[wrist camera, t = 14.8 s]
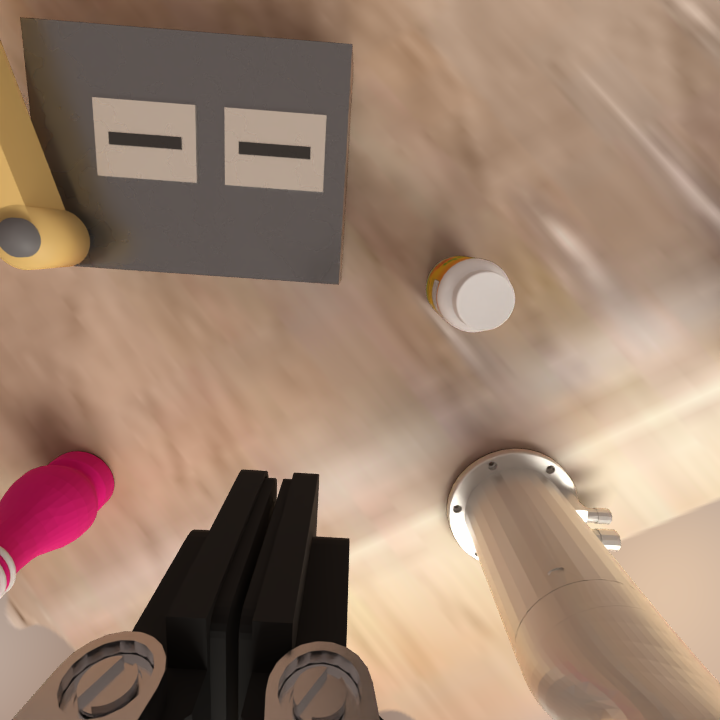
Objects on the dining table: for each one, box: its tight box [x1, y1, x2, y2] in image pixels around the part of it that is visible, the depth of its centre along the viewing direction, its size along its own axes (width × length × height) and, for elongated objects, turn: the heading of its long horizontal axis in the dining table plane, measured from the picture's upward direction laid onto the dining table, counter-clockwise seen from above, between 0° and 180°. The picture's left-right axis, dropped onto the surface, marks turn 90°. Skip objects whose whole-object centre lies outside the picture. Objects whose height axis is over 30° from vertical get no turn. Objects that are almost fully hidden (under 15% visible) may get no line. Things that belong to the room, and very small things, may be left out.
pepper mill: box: [0, 451, 114, 599], centre depth 34 cm, size 7×7×20 cm
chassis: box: [20, 17, 353, 284], centre depth 34 cm, size 22×16×5 cm
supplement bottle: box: [426, 256, 515, 332], centre depth 35 cm, size 5×5×10 cm
